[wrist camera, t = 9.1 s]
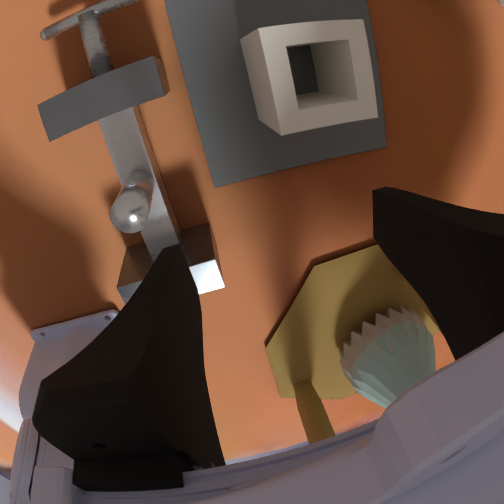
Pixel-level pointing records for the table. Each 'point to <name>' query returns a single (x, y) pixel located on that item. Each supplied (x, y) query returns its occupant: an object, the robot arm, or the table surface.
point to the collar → (326, 68)
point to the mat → (240, 93)
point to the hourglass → (352, 338)
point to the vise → (128, 151)
